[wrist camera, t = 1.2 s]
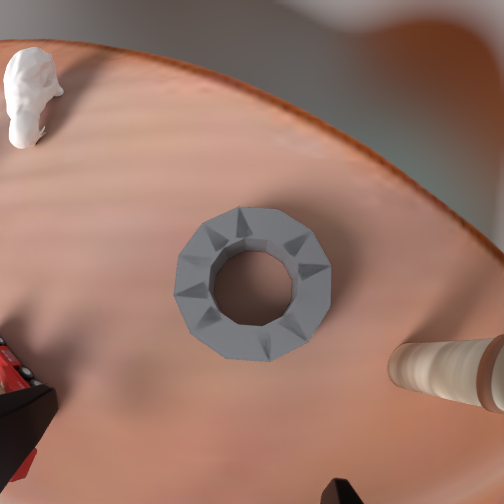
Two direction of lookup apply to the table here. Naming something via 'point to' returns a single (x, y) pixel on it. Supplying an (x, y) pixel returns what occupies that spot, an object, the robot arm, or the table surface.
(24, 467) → the toy fire truck
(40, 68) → the white animal statue
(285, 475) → the table surface
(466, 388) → the birch peg
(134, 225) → the table surface
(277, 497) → the table surface
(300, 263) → the grey ring
